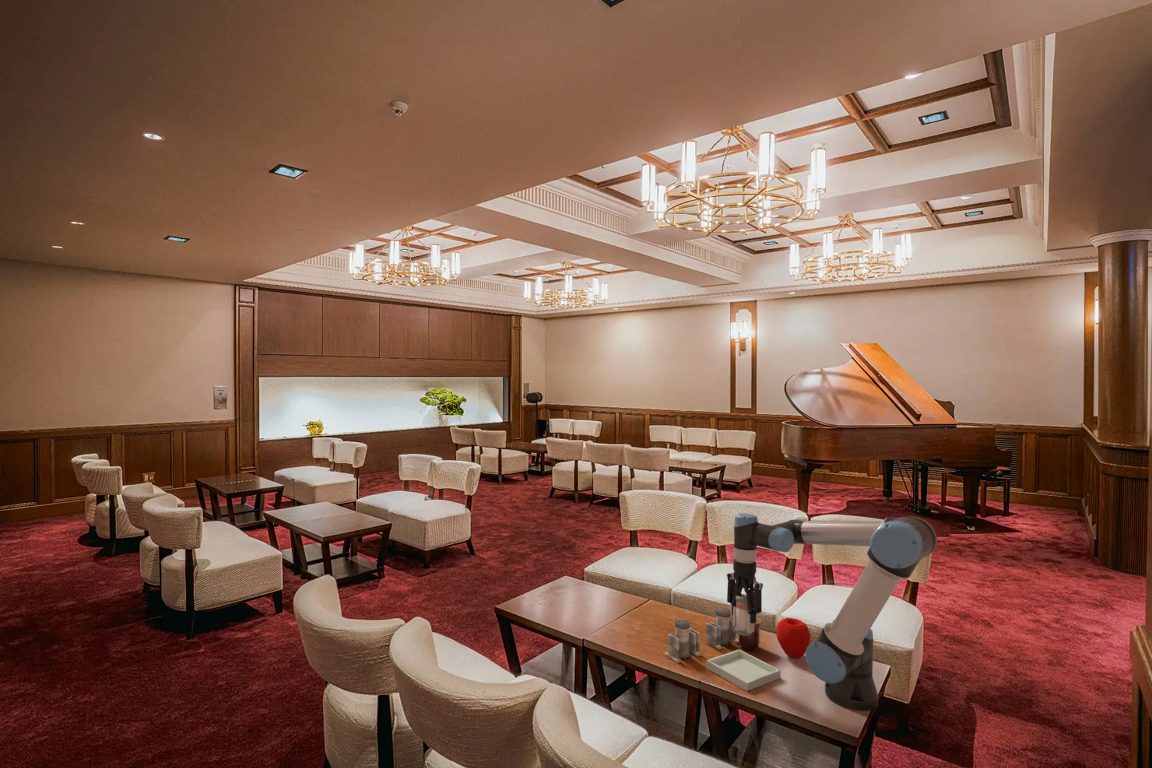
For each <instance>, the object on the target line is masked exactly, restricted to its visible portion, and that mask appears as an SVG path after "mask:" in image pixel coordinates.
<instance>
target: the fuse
mask: <svg viewBox="0 0 1152 768" xmlns="http://www.w3.org/2000/svg"><path fill="white" fill-rule="evenodd" d="M748 612H749V607H748V601H747V596H746V593H741V594H739V595H736V626H735V632H736V635H738V636H739V635H742V636H749V635H751V634H752V633H747V613H748Z"/></svg>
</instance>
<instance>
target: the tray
mask: <svg viewBox="0 0 1152 768" xmlns="http://www.w3.org/2000/svg"><path fill="white" fill-rule="evenodd" d="M705 668H706V669H707V670H709V671H710V672H713V674H716V675H717V676H719V677H721V678H723V679H724V680H726V681H728V682H730V683H731V684H734V685H735V686H736V687H738V688H740V689H742V690H744V691H745V690H746V692H749V691H748V690H750V691H752V690H754V689H753V688H755V689H757V688H759V686H760V687H761V685H762V686H764V684H765V685H767V684H769V683H772V682H774V681H776V680H780V679H781V678H782V677H781V675H782V674H781V669H779V668H776V667H775V666H773V665H770V664H769V663H767V662H765V661H763V660H761V659H759V658H757V657H755V656H753V655H751V654H749V653H747V652H745V651H743V650H742V649H736V650H733V651H731V652H727V653H724V654H722V655H718V656H715V657H712V658H710V659H706V660H705ZM756 687H757V688H756ZM751 689H752V690H751Z"/></svg>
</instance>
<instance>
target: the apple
mask: <svg viewBox="0 0 1152 768" xmlns="http://www.w3.org/2000/svg"><path fill="white" fill-rule="evenodd" d="M775 631H776V633H775V634H776V639H777V642H778V644H779V645H780V647H781V649H782V651H783V652H784V653H785V655H786V656H788V658H791V659H794V660H798V659H801V658H803V657H804V656H805V653H806V649H807V647H808V646H809V644H810V643H811V633H810V629H809V627H808V625H807V623H805V622H804V621H802V620H801V619H797V618H793V617H785V618H783V619H781V620H780V621H778V624H777V625H776V630H775Z"/></svg>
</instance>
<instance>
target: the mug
mask: <svg viewBox="0 0 1152 768" xmlns="http://www.w3.org/2000/svg"><path fill="white" fill-rule="evenodd" d="M762 623H763V622H762V619H761V618H759V617H757V616H756V623H754V632H752V634H751V635H749V636H742V635H739V634H738V640H739V643H738V644H739V646H740V648H741V649H743V650H746V651H750V652H751V651H757V650H758V649H759V647H760V643H761V642H760V629H761V626H762Z"/></svg>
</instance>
